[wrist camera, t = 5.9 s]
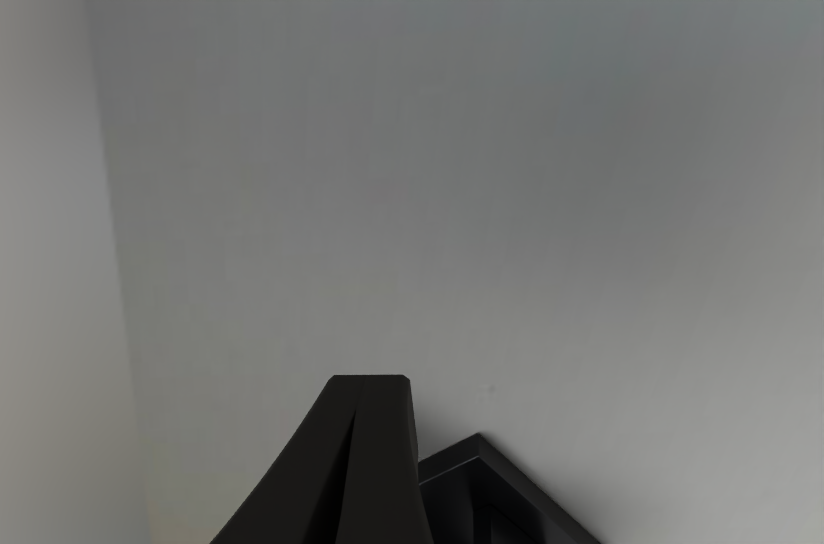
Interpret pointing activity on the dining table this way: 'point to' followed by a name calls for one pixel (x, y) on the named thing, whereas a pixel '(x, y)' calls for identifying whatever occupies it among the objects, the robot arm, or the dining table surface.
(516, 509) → the bracket
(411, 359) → the dining table surface
